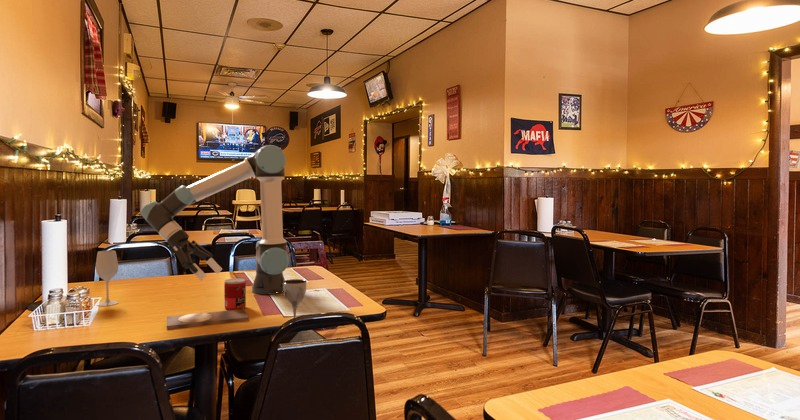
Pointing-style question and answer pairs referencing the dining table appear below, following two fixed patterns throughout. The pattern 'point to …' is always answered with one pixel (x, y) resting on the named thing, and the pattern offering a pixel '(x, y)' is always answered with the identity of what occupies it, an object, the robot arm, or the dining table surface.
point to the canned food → (235, 294)
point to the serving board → (206, 318)
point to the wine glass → (294, 292)
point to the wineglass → (107, 271)
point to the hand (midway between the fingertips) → (212, 274)
